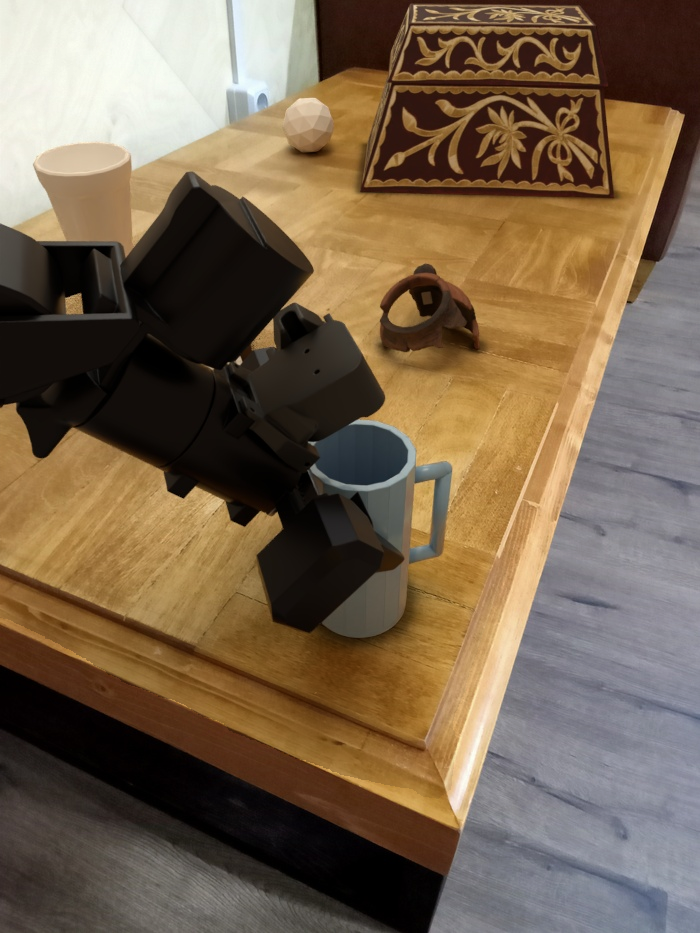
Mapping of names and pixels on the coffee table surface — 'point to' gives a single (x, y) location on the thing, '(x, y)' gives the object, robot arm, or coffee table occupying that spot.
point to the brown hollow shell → (427, 311)
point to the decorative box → (492, 104)
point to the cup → (89, 190)
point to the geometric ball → (308, 125)
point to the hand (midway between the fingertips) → (380, 525)
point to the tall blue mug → (381, 514)
